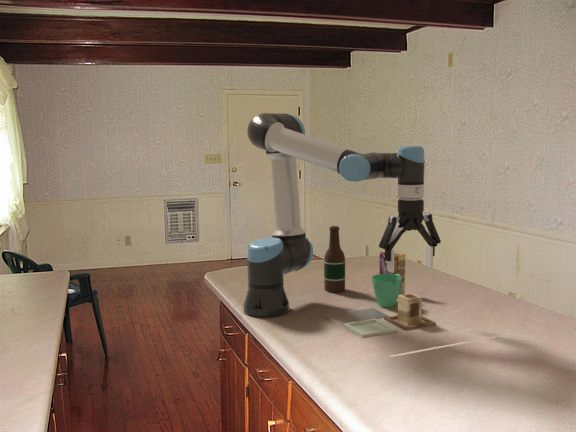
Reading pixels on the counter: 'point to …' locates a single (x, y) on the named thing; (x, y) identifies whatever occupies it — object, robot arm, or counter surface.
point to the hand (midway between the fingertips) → (410, 269)
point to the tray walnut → (423, 323)
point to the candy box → (398, 267)
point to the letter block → (409, 309)
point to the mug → (387, 288)
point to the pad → (367, 314)
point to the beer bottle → (334, 264)
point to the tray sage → (369, 327)
